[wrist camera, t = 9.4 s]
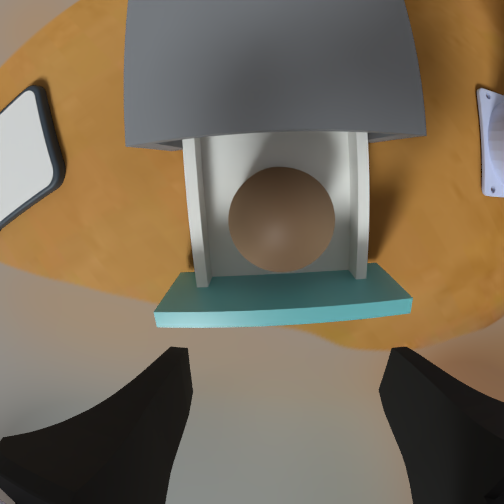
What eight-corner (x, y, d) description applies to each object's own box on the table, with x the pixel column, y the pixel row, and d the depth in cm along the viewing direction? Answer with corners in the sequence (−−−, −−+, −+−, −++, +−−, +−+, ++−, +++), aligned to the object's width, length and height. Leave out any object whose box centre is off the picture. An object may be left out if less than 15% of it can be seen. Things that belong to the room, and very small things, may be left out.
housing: (372, 142, 16) (426, 135, 10) (172, 150, 17) (125, 146, 10) (349, -18, 13) (377, -70, 7) (169, -11, 13) (138, -63, 7)
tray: (375, 274, 18) (410, 313, 13) (182, 284, 18) (157, 327, 13) (372, 83, 14) (411, 58, 9) (165, 91, 15) (129, 67, 10)
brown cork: (319, 165, 15) (334, 166, 12) (320, 248, 16) (333, 270, 13) (233, 168, 15) (224, 169, 12) (238, 251, 17) (231, 273, 13)
